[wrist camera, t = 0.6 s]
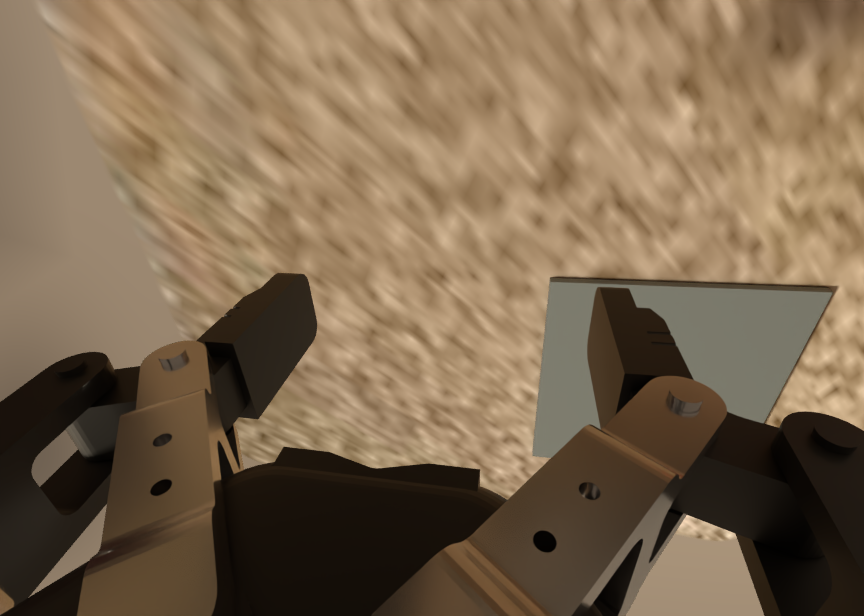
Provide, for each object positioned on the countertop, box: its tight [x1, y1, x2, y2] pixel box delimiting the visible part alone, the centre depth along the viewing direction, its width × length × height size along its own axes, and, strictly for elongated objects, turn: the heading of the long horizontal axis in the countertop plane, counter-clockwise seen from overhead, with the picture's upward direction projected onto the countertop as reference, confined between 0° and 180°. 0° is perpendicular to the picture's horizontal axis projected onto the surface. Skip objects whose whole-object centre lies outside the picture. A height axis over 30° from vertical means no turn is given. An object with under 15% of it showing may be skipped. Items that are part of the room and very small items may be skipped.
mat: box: [533, 278, 833, 458], centre depth 37 cm, size 20×18×1 cm
